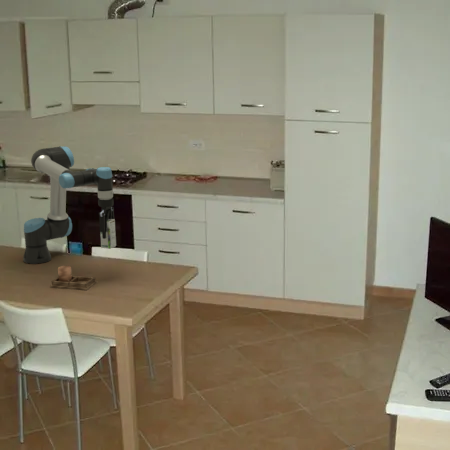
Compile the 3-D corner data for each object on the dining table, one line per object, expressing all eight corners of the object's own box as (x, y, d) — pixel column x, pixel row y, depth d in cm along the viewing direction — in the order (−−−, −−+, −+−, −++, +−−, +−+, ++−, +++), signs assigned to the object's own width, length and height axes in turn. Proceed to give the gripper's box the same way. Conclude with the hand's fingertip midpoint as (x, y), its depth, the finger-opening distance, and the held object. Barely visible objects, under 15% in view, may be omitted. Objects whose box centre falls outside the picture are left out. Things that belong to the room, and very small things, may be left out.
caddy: (50, 287, 348) (48, 270, 346) (61, 280, 359) (60, 263, 357) (86, 290, 343) (85, 273, 341) (97, 282, 354) (96, 265, 352)
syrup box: (100, 247, 354) (98, 220, 350) (107, 244, 359) (105, 217, 355) (109, 249, 351) (108, 221, 348) (116, 246, 357) (115, 218, 353)
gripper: (104, 202, 339) (107, 248, 345) (120, 194, 357) (122, 237, 363) (90, 202, 341) (93, 247, 346) (106, 193, 359) (109, 236, 365)
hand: (108, 242), depth 355 cm, fingers closed on syrup box, 7 cm apart
